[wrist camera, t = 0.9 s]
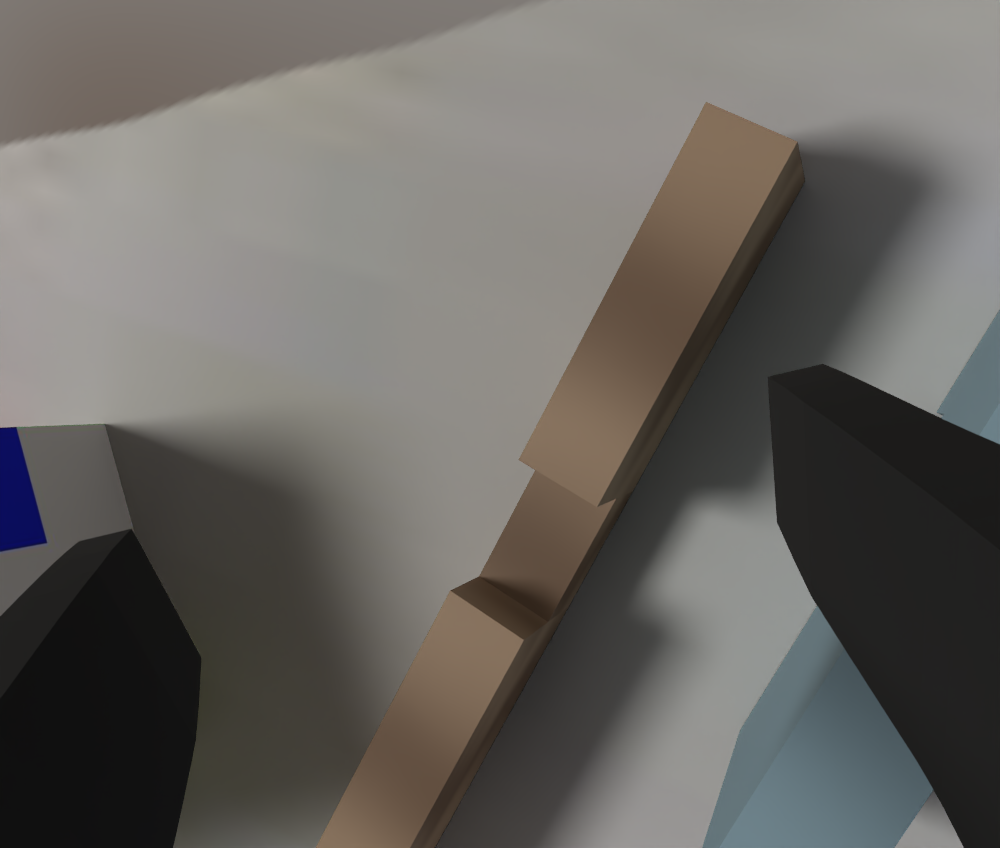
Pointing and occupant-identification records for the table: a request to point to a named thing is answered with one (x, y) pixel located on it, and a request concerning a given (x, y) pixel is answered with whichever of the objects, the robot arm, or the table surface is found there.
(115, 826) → the robot arm
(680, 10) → the table surface
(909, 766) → the teal slotted plate
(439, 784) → the walnut slotted plate
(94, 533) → the puzzle toy
